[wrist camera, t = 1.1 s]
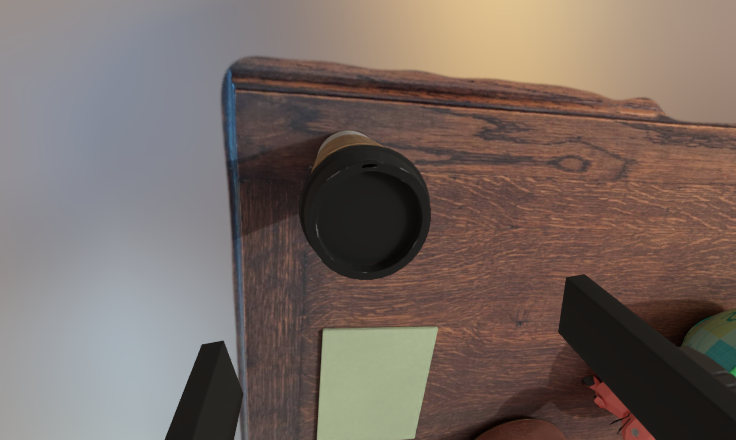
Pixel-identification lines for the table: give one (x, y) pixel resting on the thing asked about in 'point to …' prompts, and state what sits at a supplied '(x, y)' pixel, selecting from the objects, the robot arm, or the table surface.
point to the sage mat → (373, 382)
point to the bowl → (716, 339)
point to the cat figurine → (617, 410)
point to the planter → (522, 431)
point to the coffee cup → (364, 207)
